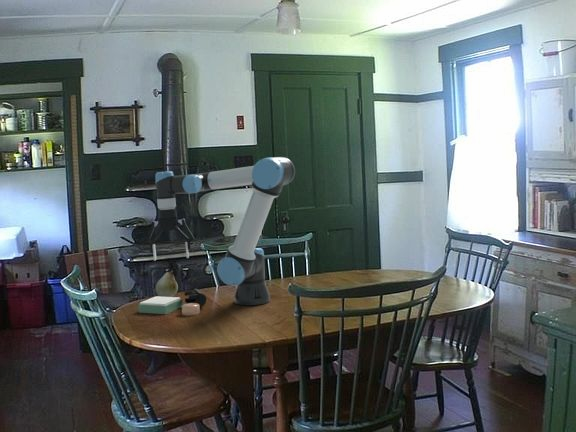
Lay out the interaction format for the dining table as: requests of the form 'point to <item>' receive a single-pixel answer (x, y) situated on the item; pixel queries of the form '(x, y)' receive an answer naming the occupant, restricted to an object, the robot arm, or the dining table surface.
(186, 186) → the robot arm
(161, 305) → the stand
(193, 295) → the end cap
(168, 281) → the fruit
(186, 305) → the pinkish tan egg
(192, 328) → the dining table surface
